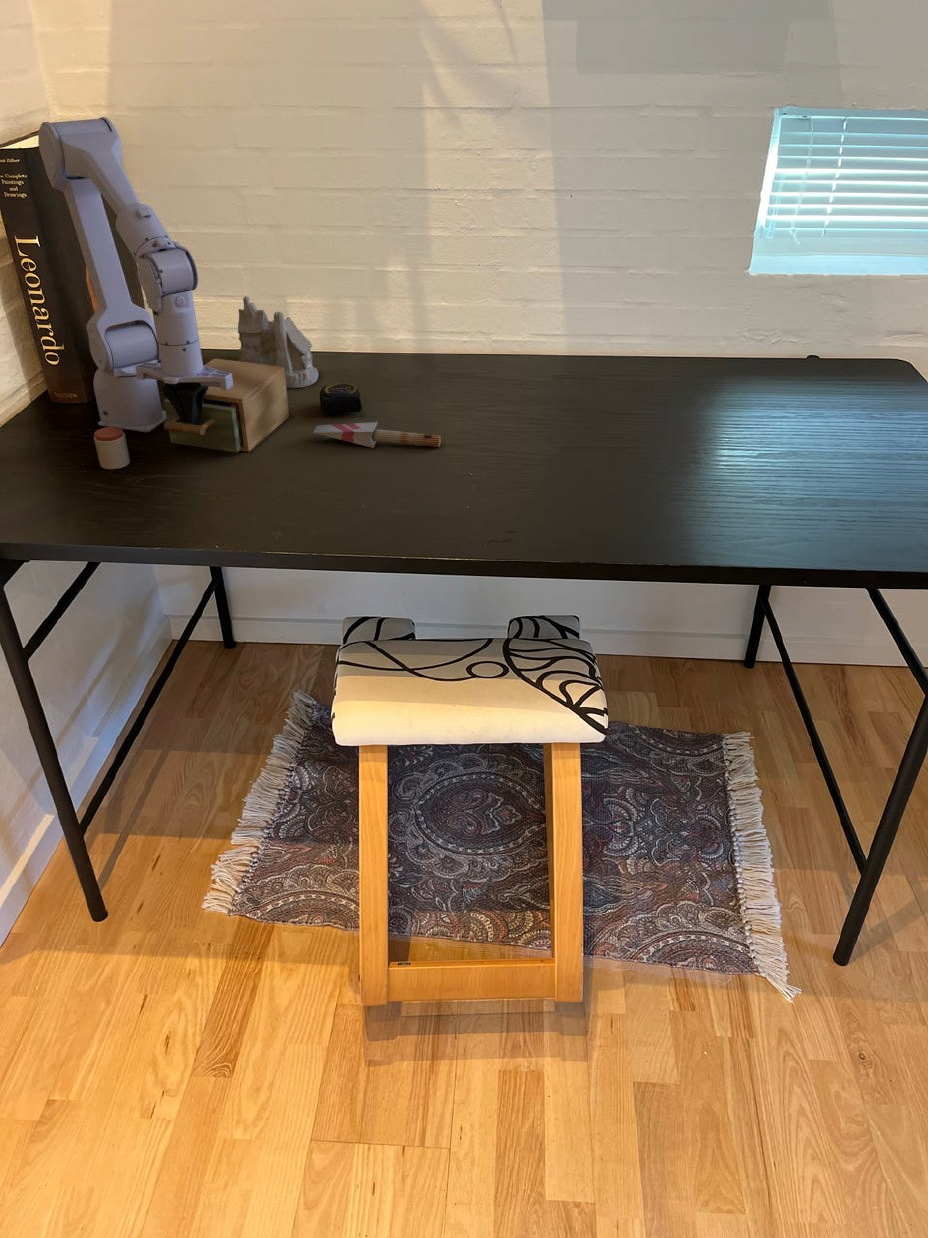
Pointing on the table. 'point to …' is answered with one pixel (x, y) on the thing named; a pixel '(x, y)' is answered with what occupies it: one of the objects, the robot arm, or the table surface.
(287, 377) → the ceramic cottage
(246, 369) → the cabinet
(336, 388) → the tape measure
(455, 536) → the table surface
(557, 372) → the table surface
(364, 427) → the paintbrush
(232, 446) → the drawer
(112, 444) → the paint pot
